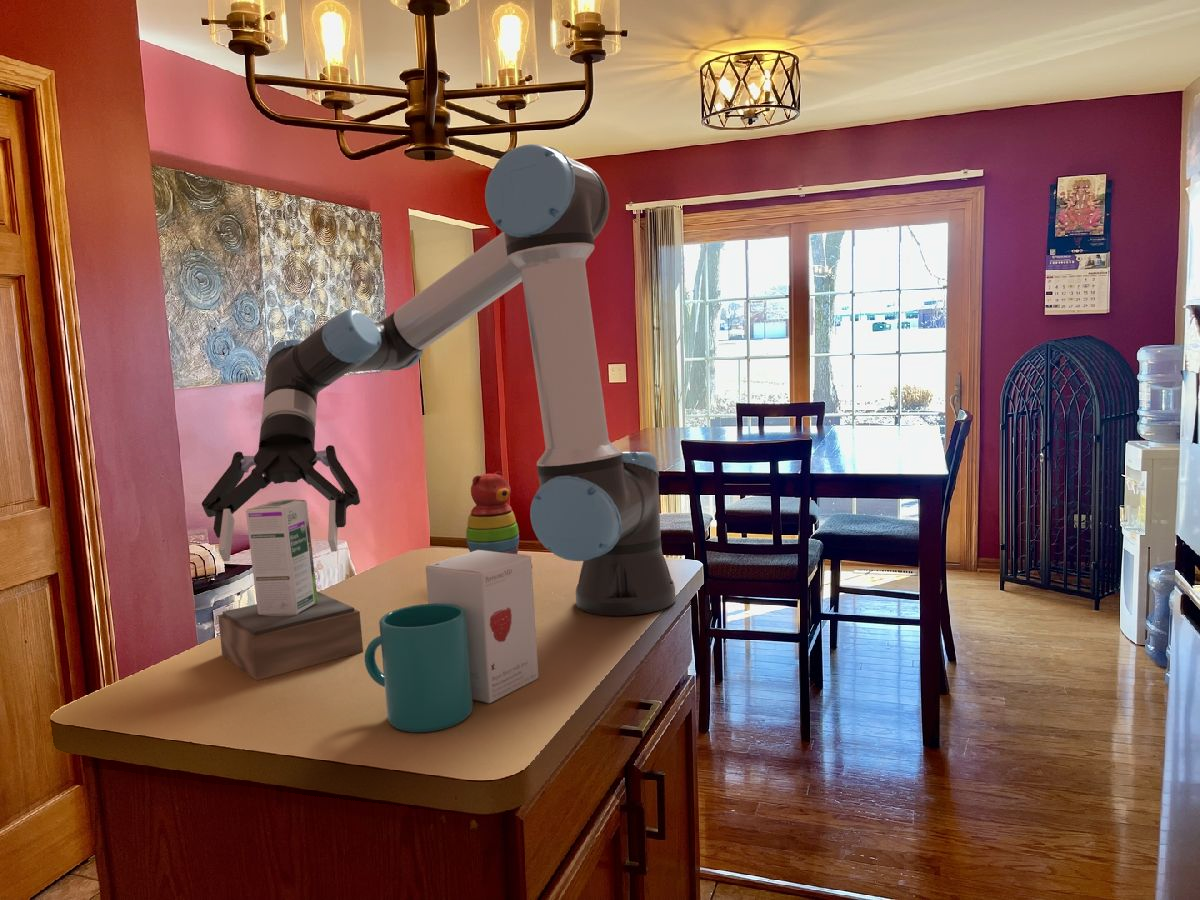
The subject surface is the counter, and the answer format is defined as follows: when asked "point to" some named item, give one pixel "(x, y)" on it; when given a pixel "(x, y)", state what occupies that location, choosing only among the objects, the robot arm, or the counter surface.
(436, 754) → the counter surface
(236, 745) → the counter surface
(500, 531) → the stacking bear
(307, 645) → the plinth
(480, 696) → the supplement box
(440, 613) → the cup
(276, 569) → the syrup box
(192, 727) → the counter surface
